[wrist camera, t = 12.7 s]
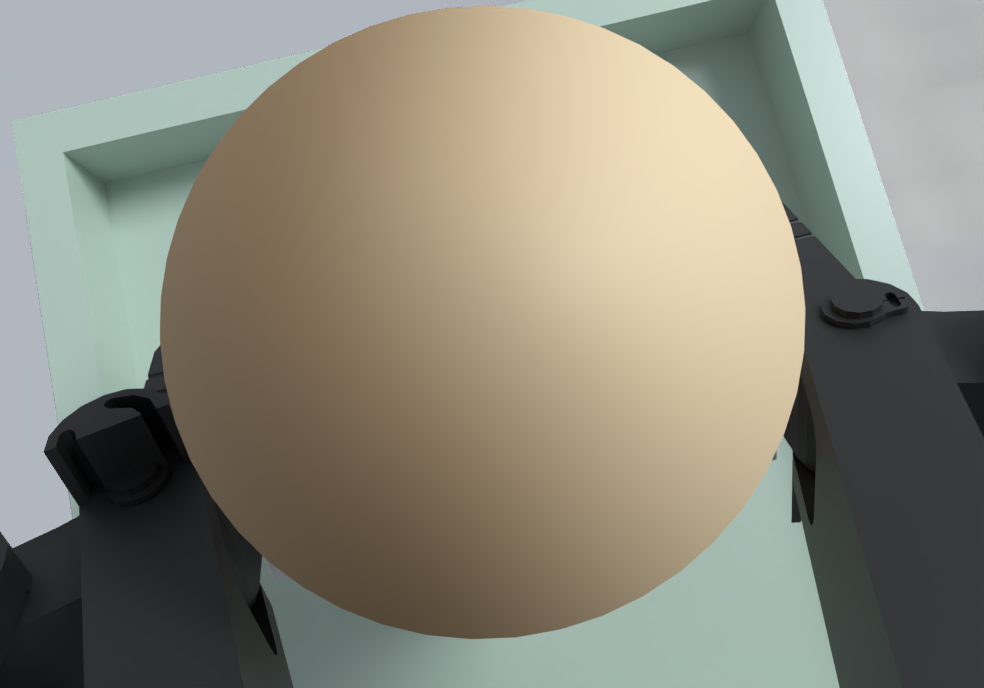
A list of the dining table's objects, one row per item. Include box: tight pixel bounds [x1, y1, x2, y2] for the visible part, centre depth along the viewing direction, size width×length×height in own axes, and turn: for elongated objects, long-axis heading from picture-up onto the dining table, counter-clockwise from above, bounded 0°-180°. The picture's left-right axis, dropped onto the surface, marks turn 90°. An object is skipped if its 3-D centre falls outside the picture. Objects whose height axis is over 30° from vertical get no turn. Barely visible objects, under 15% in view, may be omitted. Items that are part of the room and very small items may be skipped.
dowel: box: [160, 6, 805, 639], centre depth 13 cm, size 5×5×12 cm
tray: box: [12, 0, 924, 688], centre depth 20 cm, size 18×18×3 cm
